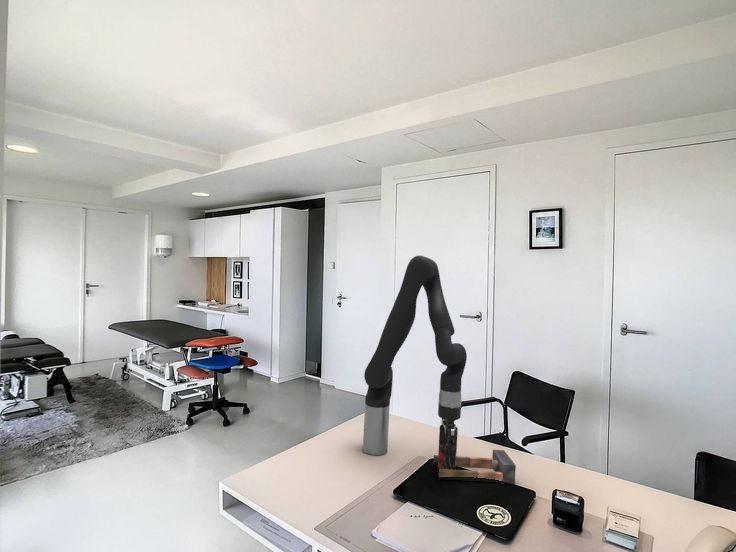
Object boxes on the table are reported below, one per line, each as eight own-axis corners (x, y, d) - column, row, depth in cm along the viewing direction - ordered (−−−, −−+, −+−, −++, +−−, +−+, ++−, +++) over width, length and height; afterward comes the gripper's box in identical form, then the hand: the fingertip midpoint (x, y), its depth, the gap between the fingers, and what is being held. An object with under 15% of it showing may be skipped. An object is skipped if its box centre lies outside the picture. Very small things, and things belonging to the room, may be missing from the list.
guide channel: (438, 479, 128) (439, 461, 128) (433, 463, 139) (434, 446, 139) (514, 484, 128) (515, 465, 128) (503, 467, 139) (504, 450, 139)
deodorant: (457, 476, 130) (459, 431, 130) (439, 475, 131) (441, 430, 131) (453, 468, 136) (455, 424, 136) (436, 467, 136) (438, 423, 137)
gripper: (435, 396, 141) (433, 443, 141) (442, 409, 126) (439, 462, 126) (456, 397, 141) (454, 444, 141) (466, 410, 126) (463, 463, 126)
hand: (447, 452), depth 133 cm, fingers closed on deodorant, 6 cm apart
